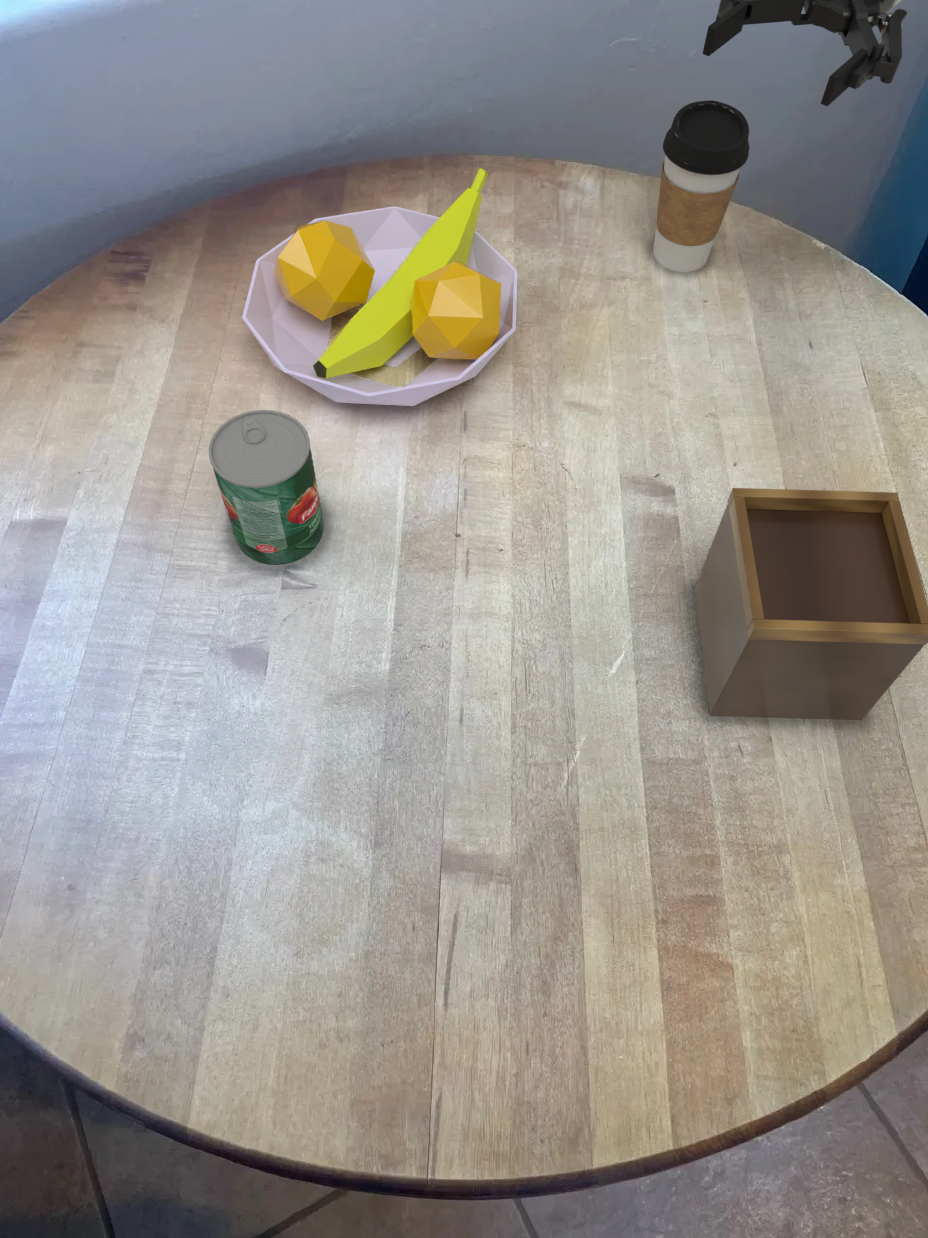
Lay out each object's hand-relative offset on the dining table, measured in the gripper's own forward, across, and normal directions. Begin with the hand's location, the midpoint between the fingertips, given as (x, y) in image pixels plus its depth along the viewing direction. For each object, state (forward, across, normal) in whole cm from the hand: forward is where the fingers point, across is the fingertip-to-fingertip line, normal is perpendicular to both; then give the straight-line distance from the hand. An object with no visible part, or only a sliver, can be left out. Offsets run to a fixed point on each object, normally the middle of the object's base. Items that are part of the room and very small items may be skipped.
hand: (766, 65), depth 95 cm
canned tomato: (+64, +6, -16) cm, 67 cm away
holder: (+47, -33, -16) cm, 60 cm away
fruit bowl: (+39, +15, -17) cm, 45 cm away
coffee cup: (+10, 0, -17) cm, 19 cm away
